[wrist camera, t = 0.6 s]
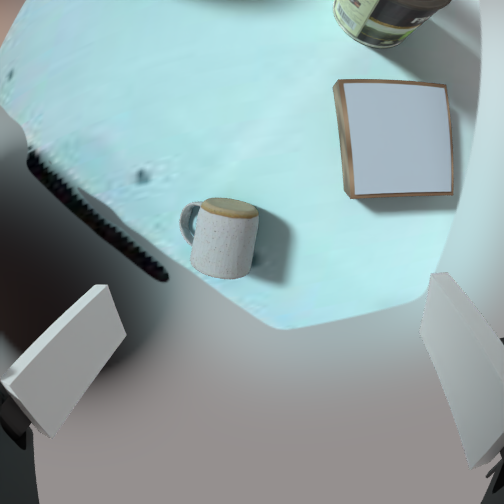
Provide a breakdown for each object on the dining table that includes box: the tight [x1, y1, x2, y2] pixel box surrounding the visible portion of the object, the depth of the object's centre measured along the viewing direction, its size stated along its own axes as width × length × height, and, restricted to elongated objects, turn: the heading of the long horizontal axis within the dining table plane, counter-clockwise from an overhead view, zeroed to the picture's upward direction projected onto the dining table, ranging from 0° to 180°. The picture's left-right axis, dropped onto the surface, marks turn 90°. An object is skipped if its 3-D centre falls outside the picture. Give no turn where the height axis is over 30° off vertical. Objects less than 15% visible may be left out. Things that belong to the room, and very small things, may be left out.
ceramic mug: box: [179, 198, 259, 279], centre depth 35 cm, size 11×8×8 cm
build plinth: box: [333, 79, 453, 199], centre depth 29 cm, size 13×13×5 cm
